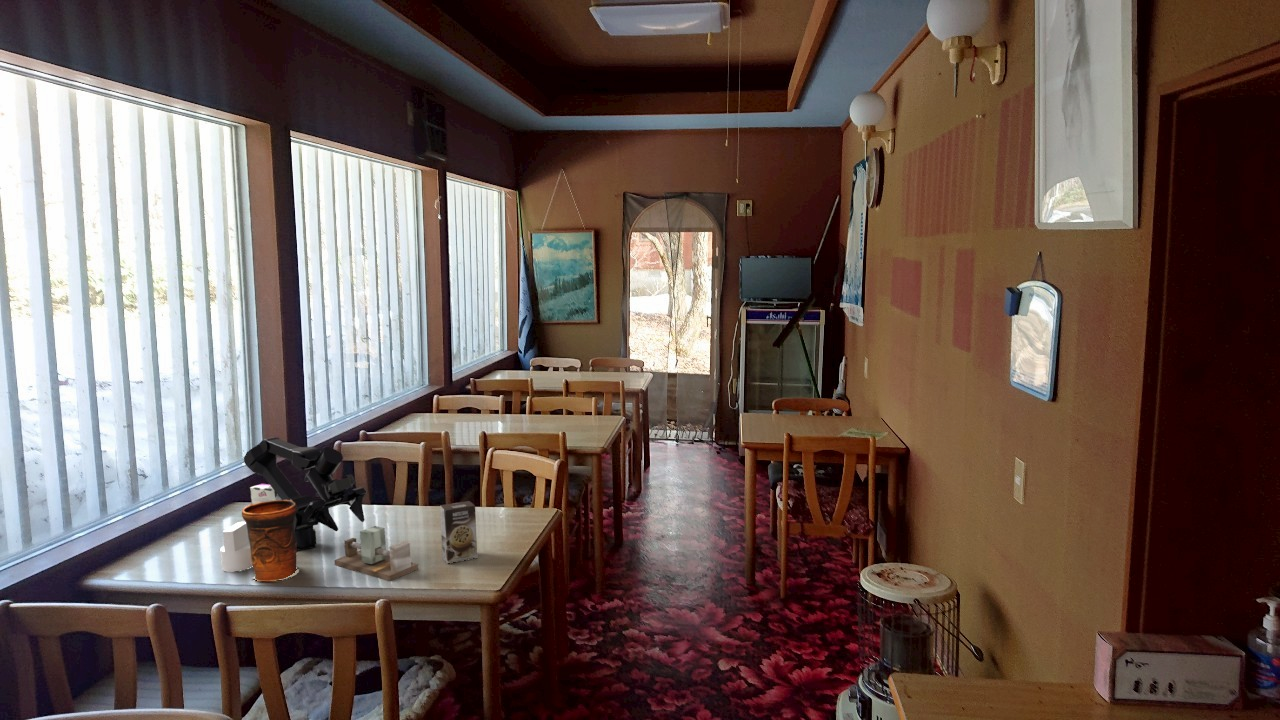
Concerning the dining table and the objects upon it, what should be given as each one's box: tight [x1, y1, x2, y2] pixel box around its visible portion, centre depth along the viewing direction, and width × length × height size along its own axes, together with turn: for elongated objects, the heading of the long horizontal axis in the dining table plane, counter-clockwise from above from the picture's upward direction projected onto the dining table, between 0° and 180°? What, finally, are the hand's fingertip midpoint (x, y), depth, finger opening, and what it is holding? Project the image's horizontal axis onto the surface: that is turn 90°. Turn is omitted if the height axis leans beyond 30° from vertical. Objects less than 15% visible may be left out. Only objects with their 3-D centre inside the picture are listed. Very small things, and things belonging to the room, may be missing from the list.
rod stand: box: [333, 537, 419, 582], centre depth 232 cm, size 24×10×8 cm, turn 57°
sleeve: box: [359, 525, 387, 564], centre depth 232 cm, size 4×5×9 cm
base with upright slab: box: [219, 521, 253, 573], centre depth 235 cm, size 9×9×12 cm
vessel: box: [241, 500, 298, 582], centre depth 228 cm, size 14×14×20 cm
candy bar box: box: [249, 483, 282, 505], centre depth 261 cm, size 11×5×16 cm, turn 68°
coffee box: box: [439, 500, 478, 564], centre depth 237 cm, size 9×6×16 cm
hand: (350, 525), depth 237 cm, fingers open, 9 cm apart
